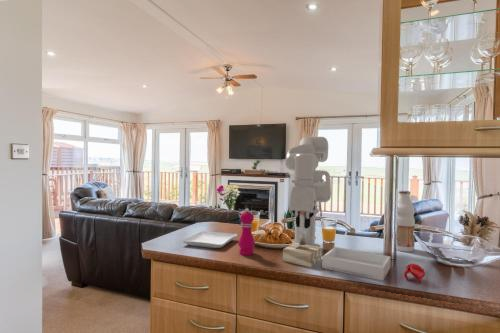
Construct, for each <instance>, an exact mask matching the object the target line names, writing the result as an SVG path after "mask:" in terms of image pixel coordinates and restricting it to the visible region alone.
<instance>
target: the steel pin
mask: <svg viewBox="0 0 500 333" xmlns="http://www.w3.org/2000/svg"><path fill="white" fill-rule="evenodd" d="M305 219H306V211H299V244H300V245H306V242H307V228H305Z"/></svg>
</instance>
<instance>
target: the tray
mask: <svg viewBox="0 0 500 333" xmlns="http://www.w3.org/2000/svg"><path fill="white" fill-rule="evenodd" d="M391 259H392V258H391V256H389V255H385V254H381V253H380V254H378V253H374V252H367V251H360V250H354V249H348V248H342V247H337V246H335V247H333V248H332V249H330V250H329V251H327V252H326V253H325V254H323V255H321V268H322V269H326V270H331V271H336V272H339V273H345V274H349V275H355V276H358V277H365V278H367V279H368V278H369V279H374V280H378V281H382V282H383V281H384V279H386V276H387V274H388V273H389V271H390V269H391Z"/></svg>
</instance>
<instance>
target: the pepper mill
mask: <svg viewBox="0 0 500 333" xmlns="http://www.w3.org/2000/svg"><path fill="white" fill-rule="evenodd" d="M239 218H240V222H241V225H240V226H241V228H242V229H241V230H242V231H241V235H240V237H239V240H238V247H239V253H238V254H239V255H242V256H252V255H253V254H254V251H255V250H254V247H255V245H256V244H255V238H254V236H253V234H252V227H253V224H254V223H253V221H255V220H254V219H255V218H254V214H253V213H252V212H250V209H249V208H245V209H244V211H243V212H242V213H241V214H240V217H239Z"/></svg>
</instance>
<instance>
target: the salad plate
mask: <svg viewBox="0 0 500 333" xmlns="http://www.w3.org/2000/svg"><path fill="white" fill-rule="evenodd" d="M237 237H238V234H237V233H230V232H229V233H228V232H217V231H216V232H215V231H200V232H197V233H195V234H192V235H190V236H188V237H185V238H184V239H183V240H181V241H182V242H183V243H184V244H186V245H187V246H188V245H189V246H192V247H201V248H209V249H210V248H211V249H220V248H223V247H224V246H225V245H227V244H228V243H230V242H231V241H233V240H234V239H236V238H237Z"/></svg>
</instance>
